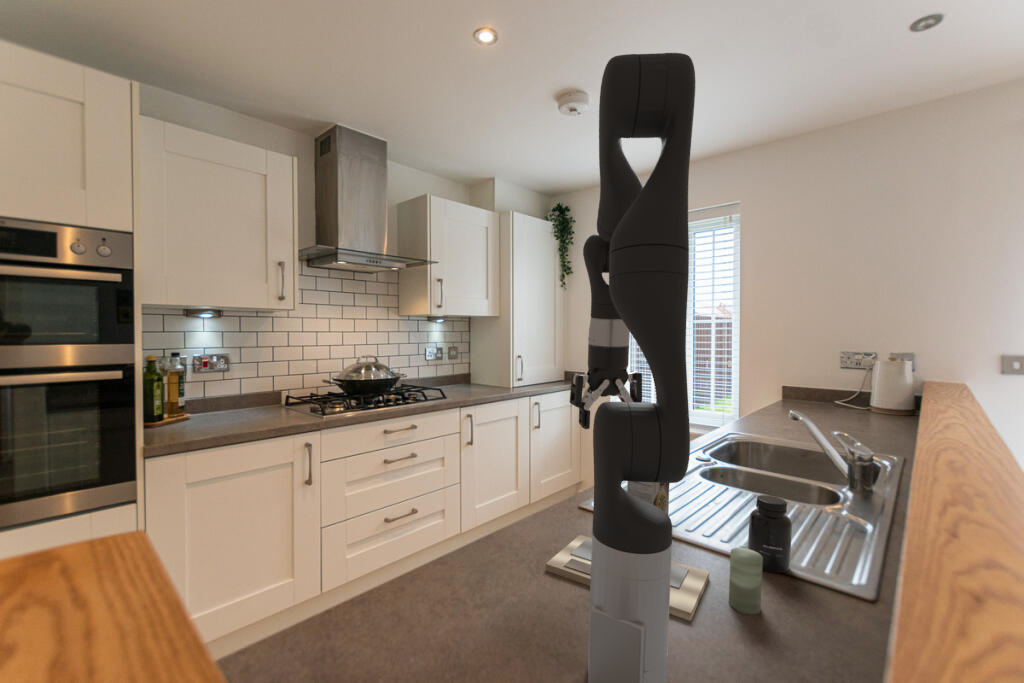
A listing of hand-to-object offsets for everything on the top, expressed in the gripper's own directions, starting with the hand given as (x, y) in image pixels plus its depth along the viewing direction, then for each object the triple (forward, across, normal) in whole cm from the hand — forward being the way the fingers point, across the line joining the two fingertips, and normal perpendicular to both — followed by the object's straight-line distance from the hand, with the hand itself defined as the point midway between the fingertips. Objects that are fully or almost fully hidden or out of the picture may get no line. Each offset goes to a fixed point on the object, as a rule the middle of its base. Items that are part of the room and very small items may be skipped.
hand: (605, 426), depth 89 cm
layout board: (+23, -2, -12) cm, 26 cm away
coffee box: (+25, +15, +7) cm, 30 cm away
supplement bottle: (+24, +26, -16) cm, 38 cm away
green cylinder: (+22, +11, -25) cm, 35 cm away
